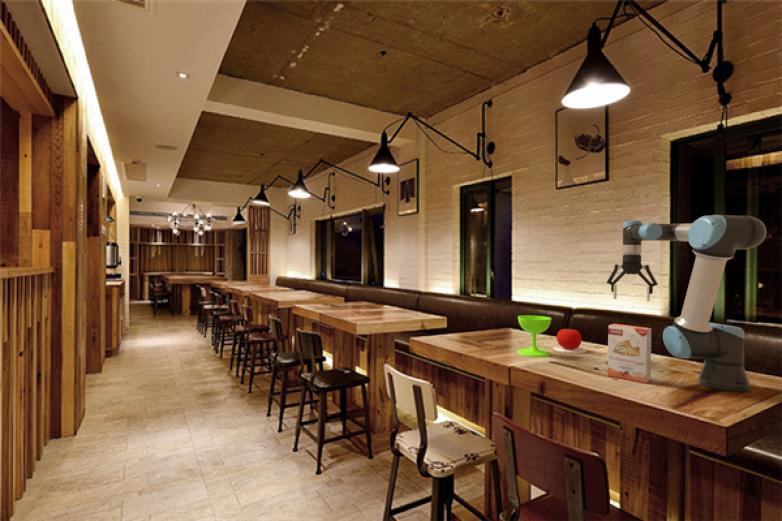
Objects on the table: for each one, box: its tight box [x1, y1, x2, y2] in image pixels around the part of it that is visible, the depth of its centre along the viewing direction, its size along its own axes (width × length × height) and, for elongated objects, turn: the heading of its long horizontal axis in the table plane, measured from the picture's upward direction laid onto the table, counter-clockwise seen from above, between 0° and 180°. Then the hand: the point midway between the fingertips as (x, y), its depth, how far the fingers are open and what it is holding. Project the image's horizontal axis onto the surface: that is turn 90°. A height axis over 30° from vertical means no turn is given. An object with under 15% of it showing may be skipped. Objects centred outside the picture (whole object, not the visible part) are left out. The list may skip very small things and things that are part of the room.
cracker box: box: [607, 323, 652, 385], centre depth 163 cm, size 14×6×21 cm, turn 43°
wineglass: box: [517, 315, 552, 358], centre depth 206 cm, size 16×16×18 cm
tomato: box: [556, 327, 582, 349], centre depth 214 cm, size 11×12×10 cm
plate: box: [552, 345, 587, 355], centre depth 214 cm, size 16×16×1 cm
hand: (631, 300), depth 191 cm, fingers open, 13 cm apart
